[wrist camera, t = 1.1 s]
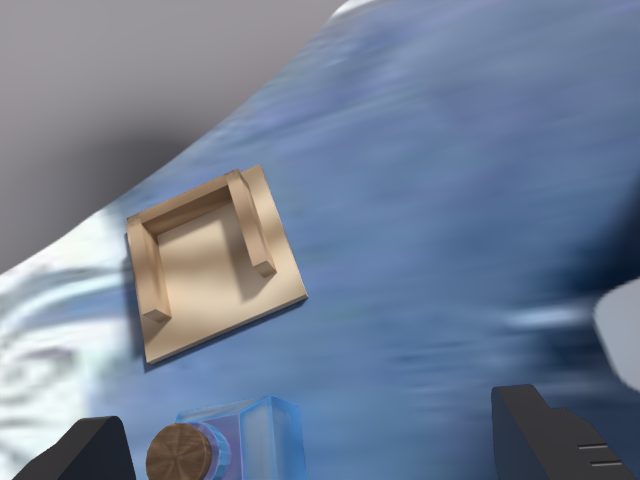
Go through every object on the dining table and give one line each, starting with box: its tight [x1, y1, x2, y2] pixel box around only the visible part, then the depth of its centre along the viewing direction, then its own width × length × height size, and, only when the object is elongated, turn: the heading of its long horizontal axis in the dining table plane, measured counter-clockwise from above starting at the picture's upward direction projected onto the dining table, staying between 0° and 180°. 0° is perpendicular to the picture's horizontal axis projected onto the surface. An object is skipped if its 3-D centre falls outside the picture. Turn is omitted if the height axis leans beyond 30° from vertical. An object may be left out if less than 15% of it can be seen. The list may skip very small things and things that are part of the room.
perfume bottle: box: [146, 395, 307, 480], centre depth 27 cm, size 6×6×12 cm
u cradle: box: [126, 164, 308, 364], centre depth 39 cm, size 14×14×3 cm
